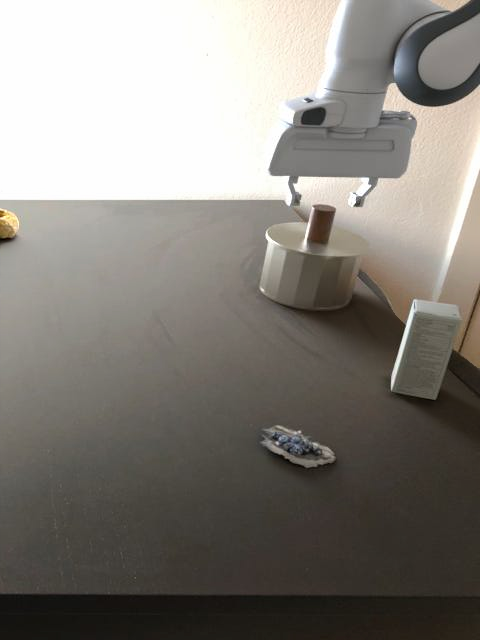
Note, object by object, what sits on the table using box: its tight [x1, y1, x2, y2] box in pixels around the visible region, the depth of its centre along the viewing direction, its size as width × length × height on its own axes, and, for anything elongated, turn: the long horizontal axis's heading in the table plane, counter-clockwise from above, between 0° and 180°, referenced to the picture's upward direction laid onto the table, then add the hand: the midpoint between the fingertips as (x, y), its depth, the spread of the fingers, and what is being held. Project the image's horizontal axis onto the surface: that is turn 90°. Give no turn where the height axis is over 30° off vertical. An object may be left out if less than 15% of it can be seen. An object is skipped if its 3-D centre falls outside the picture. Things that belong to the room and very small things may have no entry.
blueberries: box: [259, 425, 337, 469], centre depth 80 cm, size 7×8×2 cm
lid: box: [265, 203, 370, 260], centre depth 112 cm, size 15×15×6 cm
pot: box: [259, 240, 364, 312], centre depth 116 cm, size 14×14×8 cm
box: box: [390, 298, 463, 401], centre depth 90 cm, size 5×4×11 cm
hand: (323, 205), depth 111 cm, fingers open, 8 cm apart
